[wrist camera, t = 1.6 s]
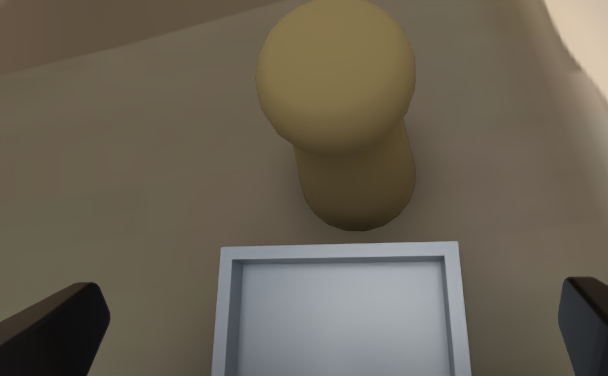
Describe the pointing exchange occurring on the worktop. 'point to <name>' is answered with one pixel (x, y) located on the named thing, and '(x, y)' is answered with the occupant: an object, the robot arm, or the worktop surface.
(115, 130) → the worktop surface
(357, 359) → the tray
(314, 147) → the cork
